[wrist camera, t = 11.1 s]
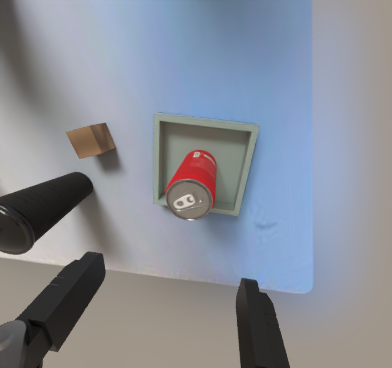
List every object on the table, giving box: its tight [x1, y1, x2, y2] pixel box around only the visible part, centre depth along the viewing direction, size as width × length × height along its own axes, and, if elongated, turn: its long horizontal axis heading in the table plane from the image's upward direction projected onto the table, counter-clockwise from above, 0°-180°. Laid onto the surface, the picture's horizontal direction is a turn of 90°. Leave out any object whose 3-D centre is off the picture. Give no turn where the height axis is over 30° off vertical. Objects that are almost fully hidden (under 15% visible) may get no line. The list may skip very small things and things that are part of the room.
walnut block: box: [66, 123, 116, 159], centre depth 28 cm, size 4×4×4 cm
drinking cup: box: [0, 172, 93, 255], centre depth 25 cm, size 8×8×20 cm
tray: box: [153, 113, 259, 216], centre depth 28 cm, size 14×14×3 cm
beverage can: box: [166, 150, 217, 221], centre depth 23 cm, size 5×5×12 cm
